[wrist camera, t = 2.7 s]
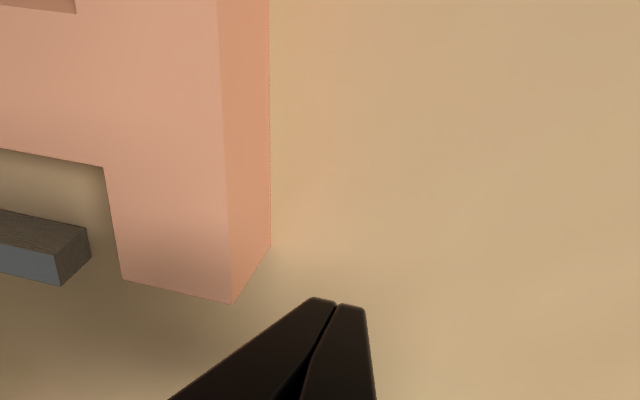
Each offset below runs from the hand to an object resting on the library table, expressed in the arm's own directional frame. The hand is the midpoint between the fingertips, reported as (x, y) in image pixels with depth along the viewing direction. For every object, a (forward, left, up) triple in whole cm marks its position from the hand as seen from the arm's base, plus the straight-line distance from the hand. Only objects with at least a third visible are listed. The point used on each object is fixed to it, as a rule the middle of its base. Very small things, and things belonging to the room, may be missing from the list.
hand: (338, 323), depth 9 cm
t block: (+11, 0, -10) cm, 15 cm away
